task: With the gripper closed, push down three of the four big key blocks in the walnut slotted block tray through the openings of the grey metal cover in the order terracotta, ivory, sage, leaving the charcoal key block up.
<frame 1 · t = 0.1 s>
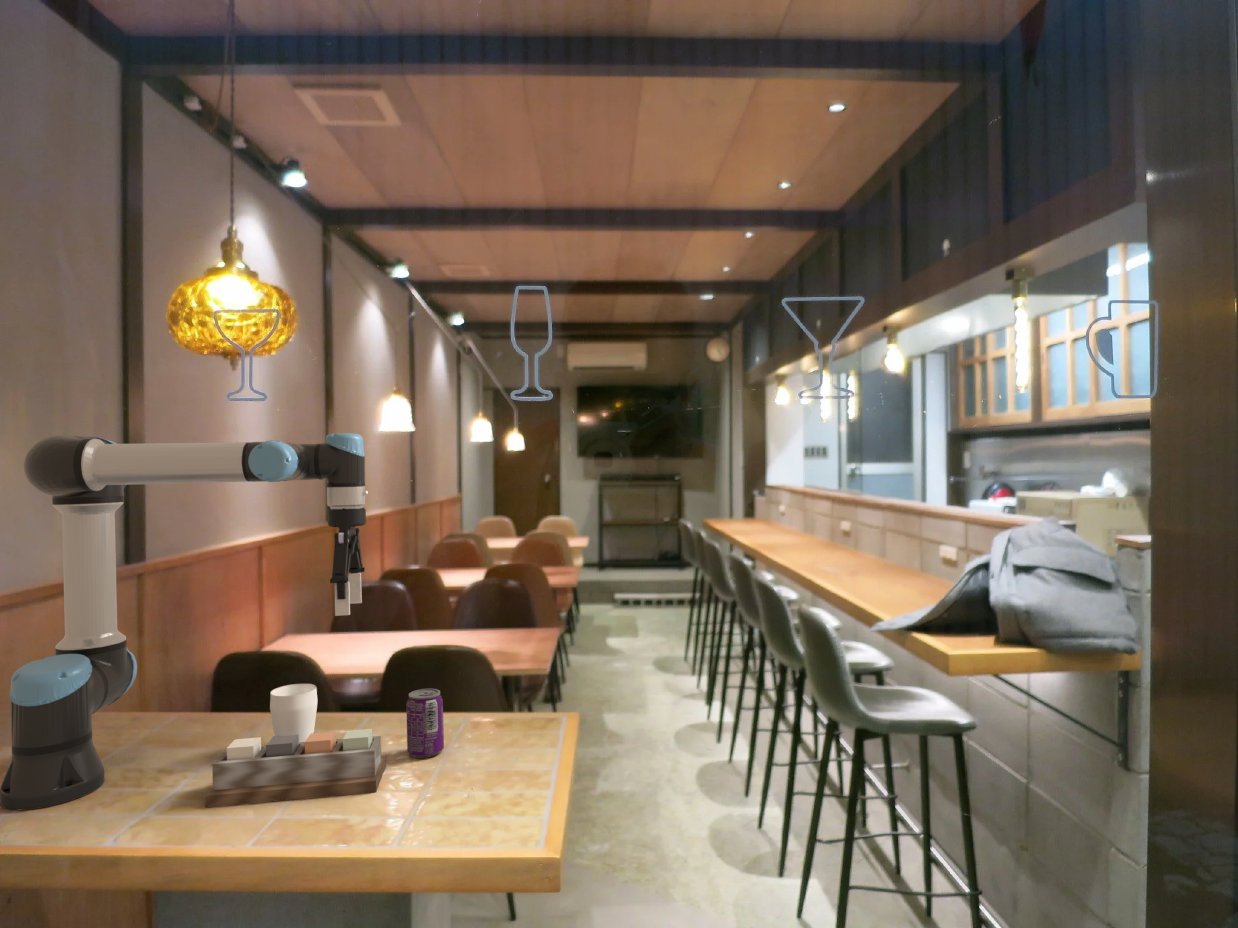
hand: (349, 609, 157), 28 cm above the table, fingers open, 13 cm apart
key ivory: (244, 750, 135), point 7 cm above the table, slide at 0.0 cm
beverage can: (425, 753, 151), on the table
key charcoal: (282, 747, 136), point 7 cm above the table, slide at 0.0 cm
cup: (295, 748, 155), on the table
key terracotta: (320, 744, 137), point 7 cm above the table, slide at 0.0 cm
slotted block tray: (301, 785, 136), on the table
key sage: (357, 741, 138), point 7 cm above the table, slide at 0.0 cm
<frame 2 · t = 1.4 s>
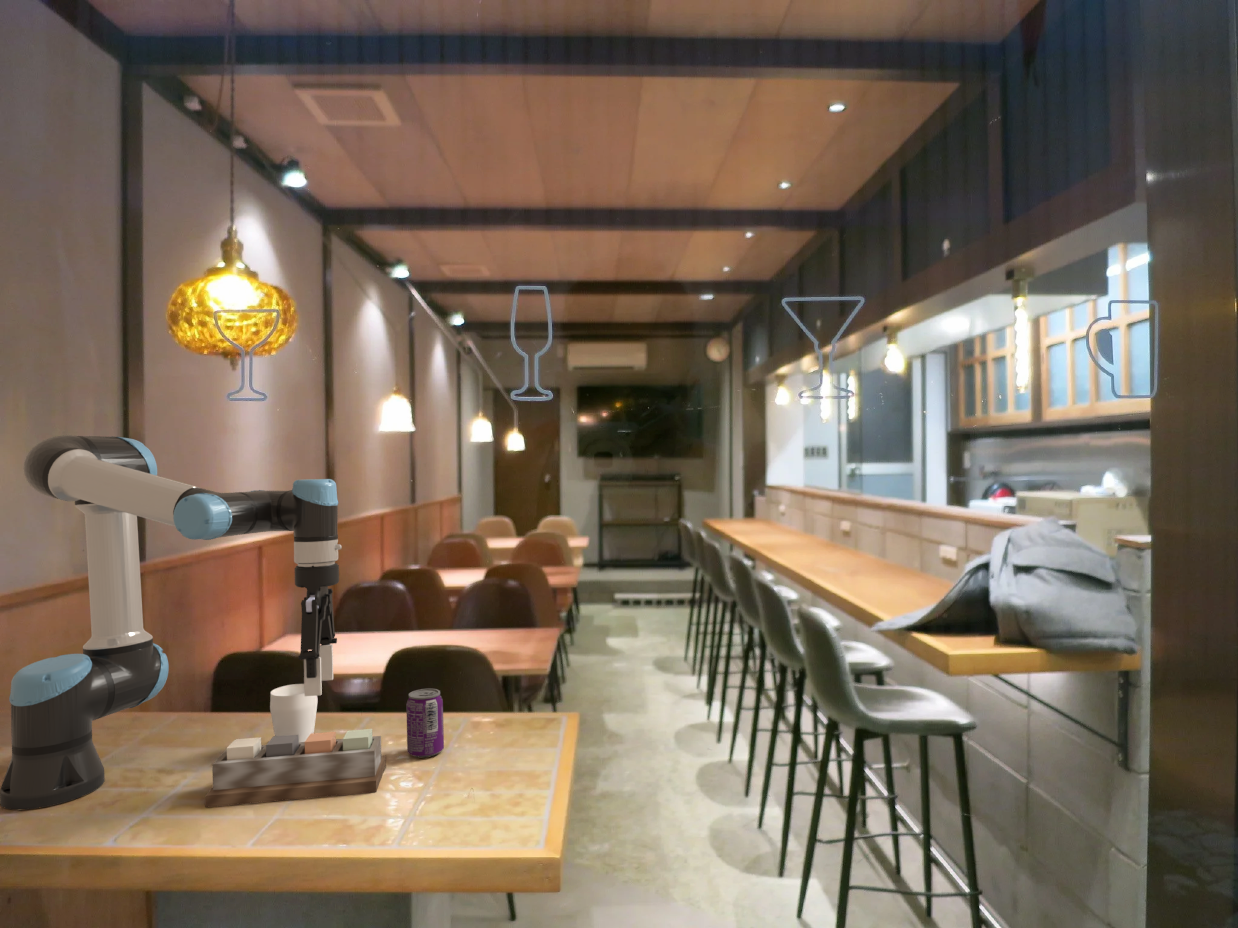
hand: (319, 687, 137), 17 cm above the table, fingers open, 9 cm apart
nothing on the table moved.
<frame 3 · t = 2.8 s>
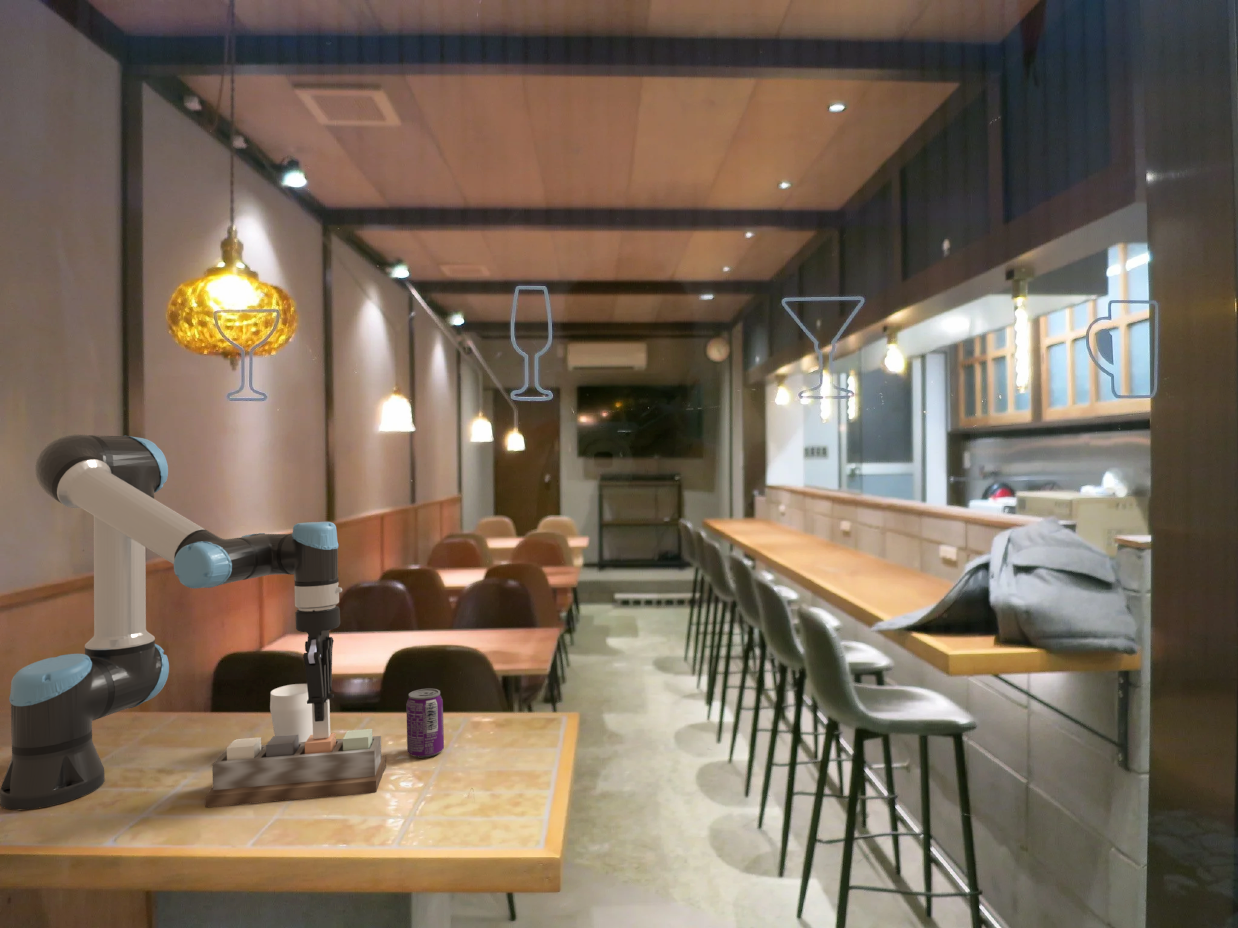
hand: (321, 736, 137), 9 cm above the table, fingers closed
key terracotta: (320, 746, 137), point 7 cm above the table, slide at 0.3 cm, touching gripper
everything else where it was.
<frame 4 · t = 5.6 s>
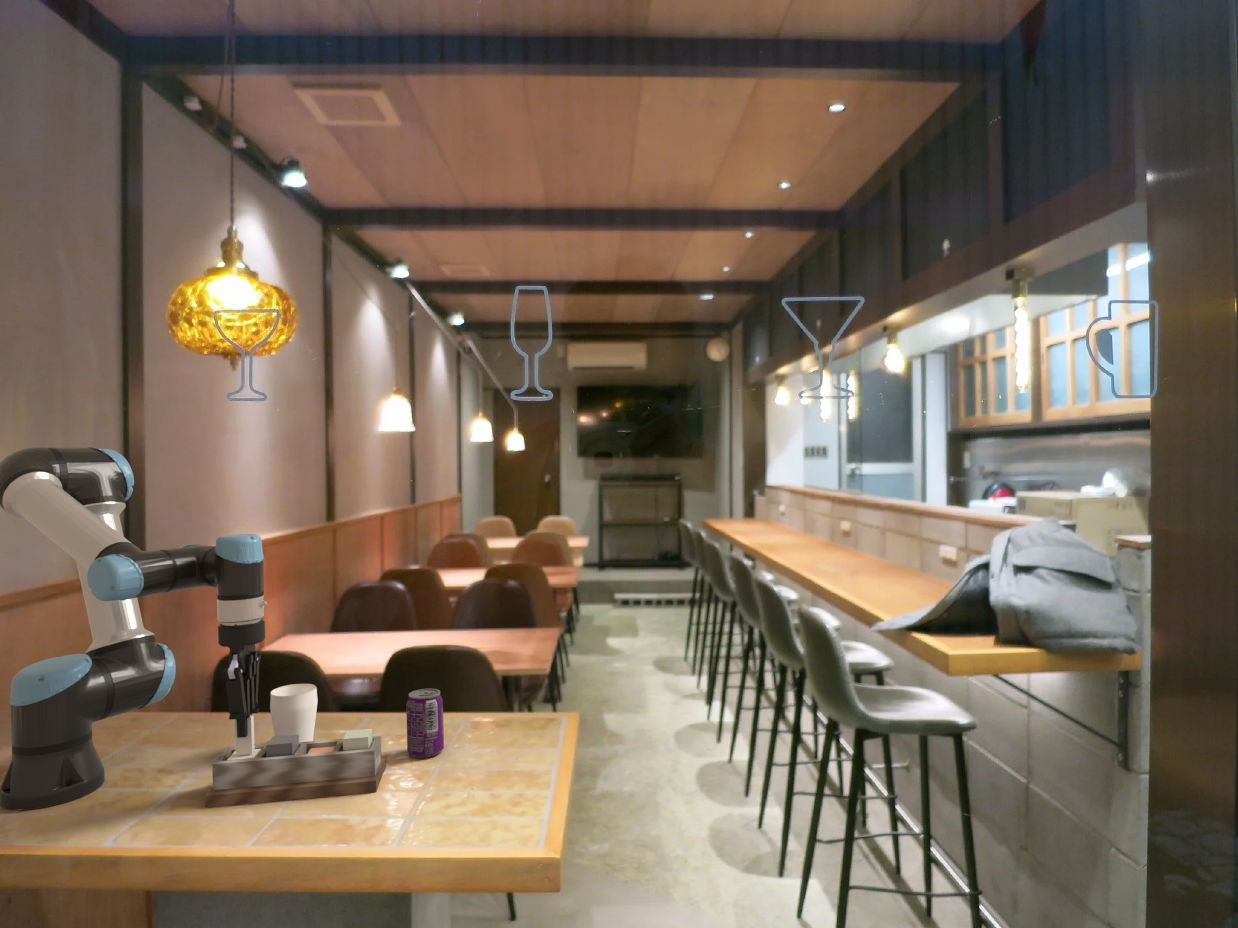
hand: (245, 752, 135), 7 cm above the table, fingers closed
key ivory: (244, 762, 135), point 5 cm above the table, slide at 2.1 cm, touching gripper
key terracotta: (320, 759, 137), point 4 cm above the table, slide at 2.7 cm
everything else where it was.
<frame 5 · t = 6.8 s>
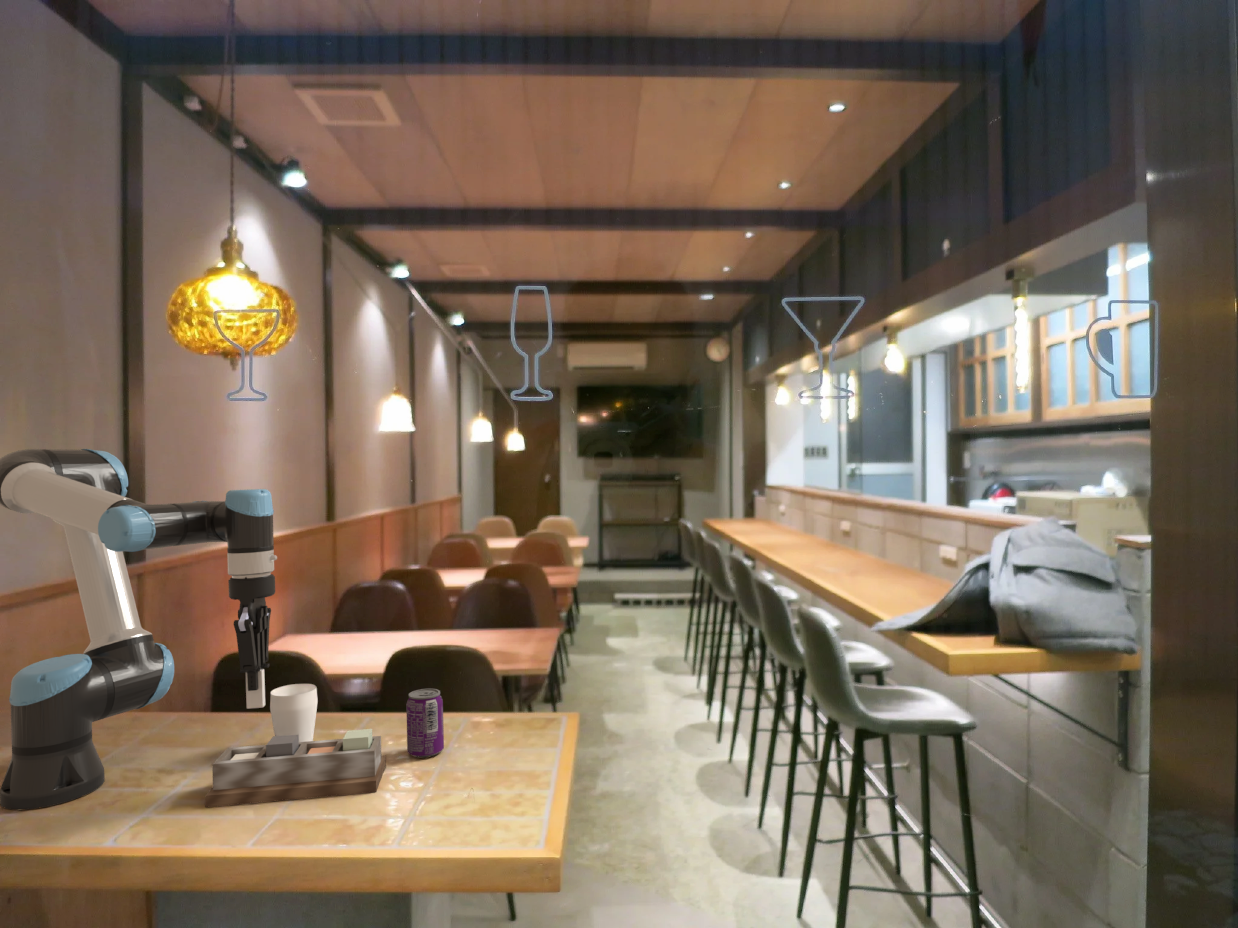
hand: (256, 706, 135), 15 cm above the table, fingers closed
key ivory: (244, 766, 135), point 4 cm above the table, slide at 2.7 cm
everything else where it was.
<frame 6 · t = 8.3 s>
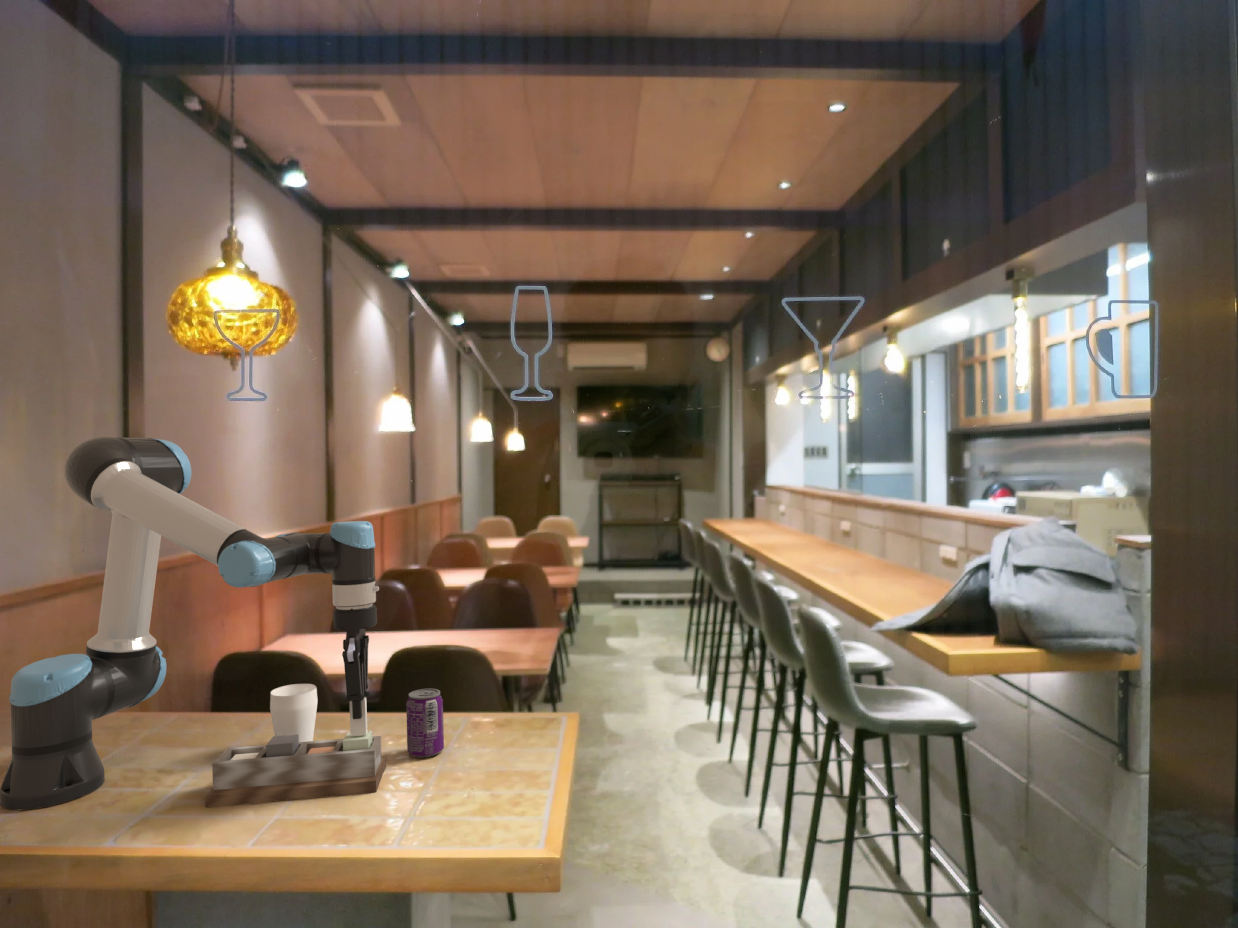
hand: (359, 734, 138), 8 cm above the table, fingers closed
key sage: (357, 743, 138), point 7 cm above the table, slide at 0.4 cm, touching gripper
everything else where it was.
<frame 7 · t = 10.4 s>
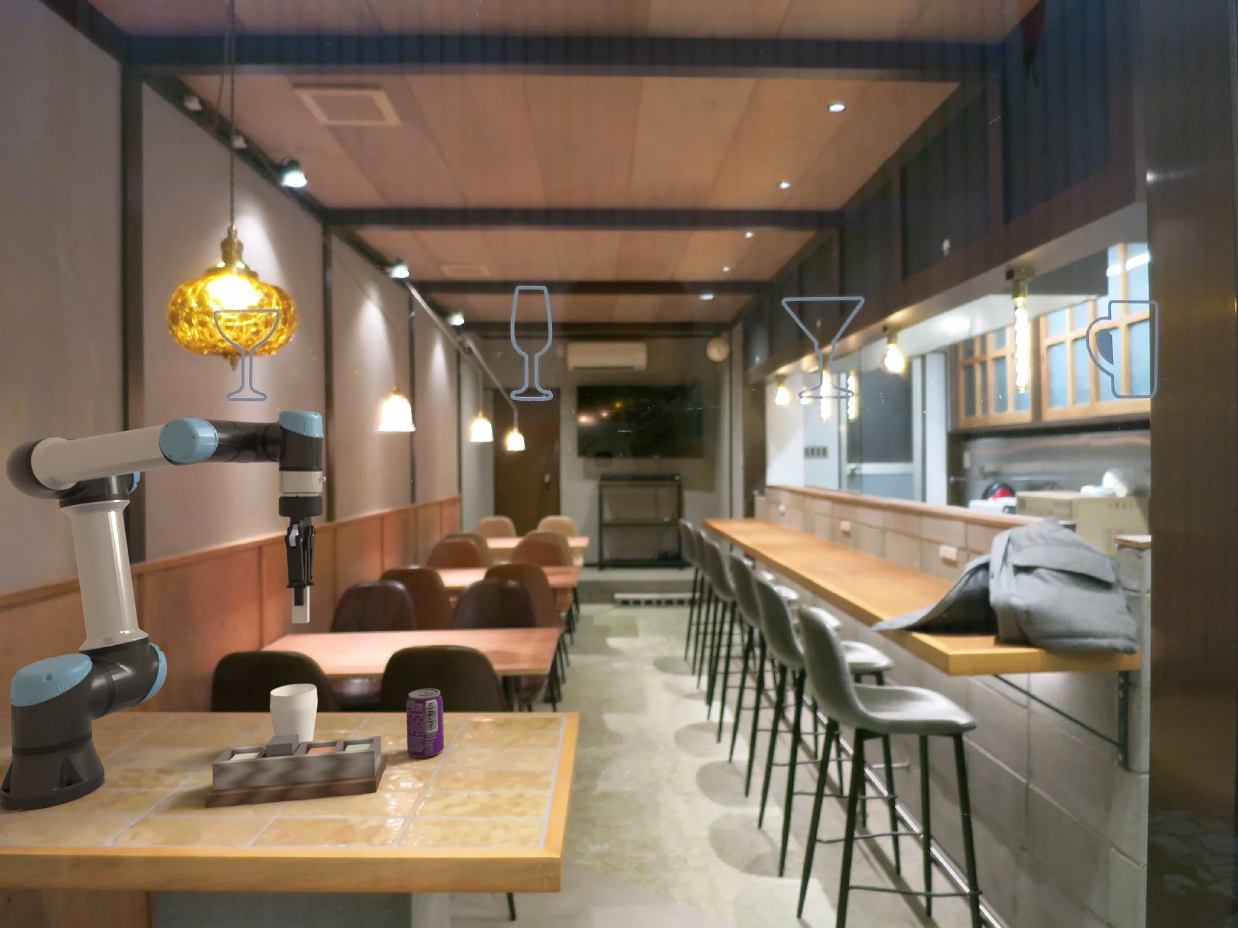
hand: (300, 622, 139), 29 cm above the table, fingers closed
key sage: (358, 756, 138), point 4 cm above the table, slide at 2.7 cm
everything else where it was.
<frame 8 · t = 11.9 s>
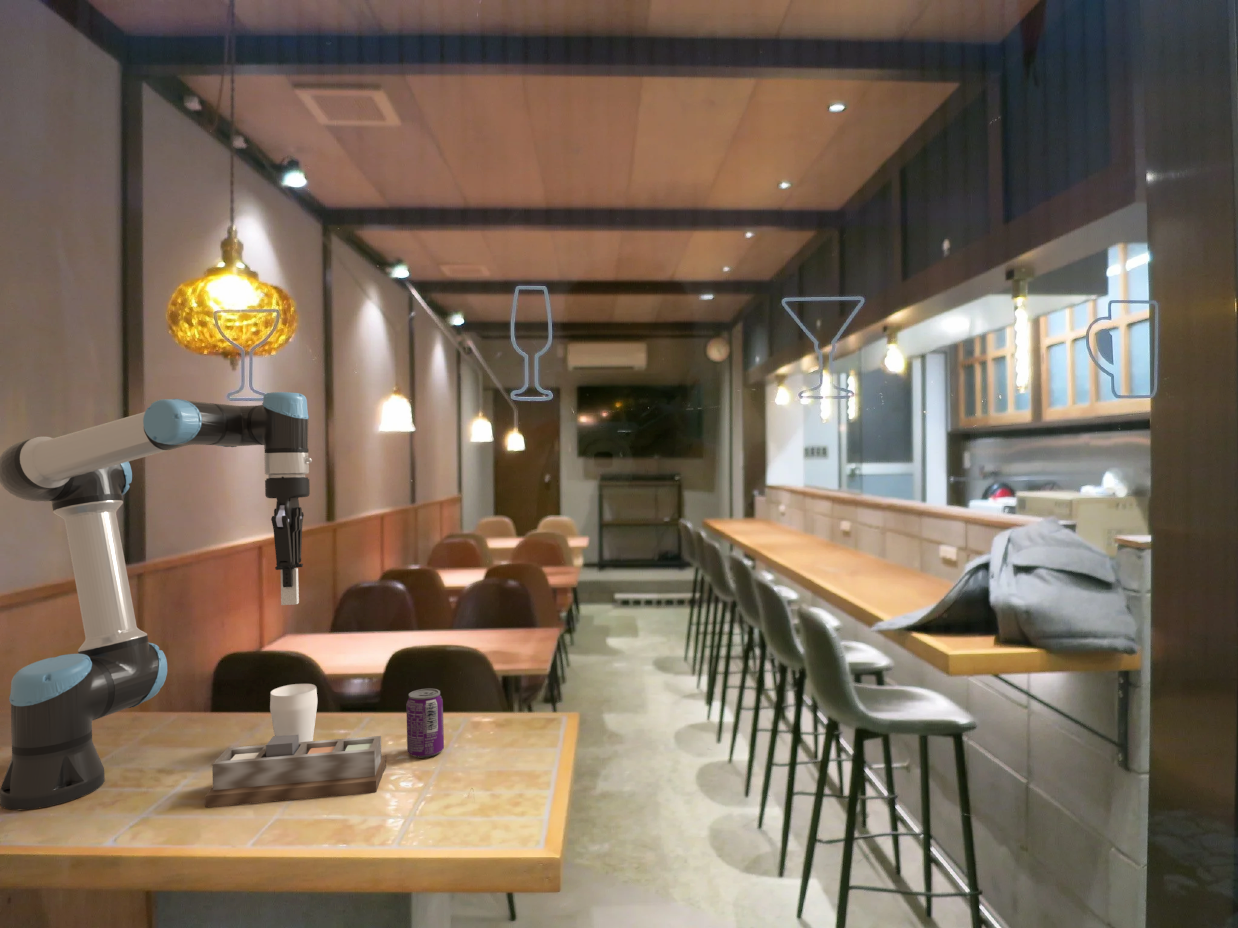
hand: (290, 603, 139), 32 cm above the table, fingers closed
nothing on the table moved.
at the end: key terracotta slide at 2.7 cm; key ivory slide at 2.7 cm; key sage slide at 2.7 cm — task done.
